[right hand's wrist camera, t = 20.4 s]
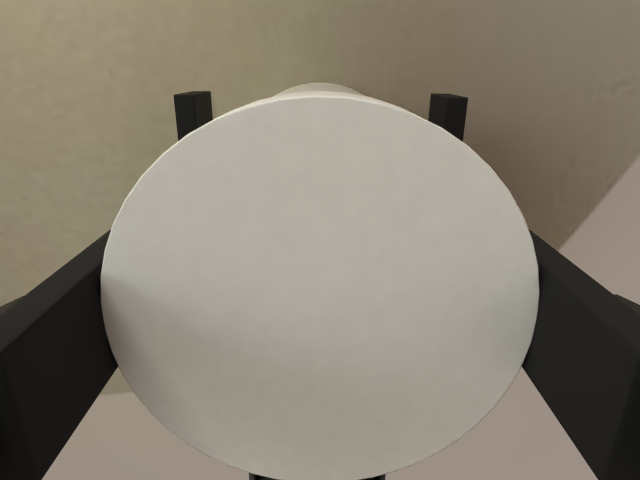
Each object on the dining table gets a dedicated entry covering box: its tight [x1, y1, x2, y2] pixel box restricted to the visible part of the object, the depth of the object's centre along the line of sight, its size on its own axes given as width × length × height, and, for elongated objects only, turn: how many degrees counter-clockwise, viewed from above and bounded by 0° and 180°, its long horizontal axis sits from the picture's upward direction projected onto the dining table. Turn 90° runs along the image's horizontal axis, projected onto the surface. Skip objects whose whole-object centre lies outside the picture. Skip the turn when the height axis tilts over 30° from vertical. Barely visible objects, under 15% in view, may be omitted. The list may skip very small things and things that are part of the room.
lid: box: [101, 91, 540, 480], centre depth 11 cm, size 10×10×2 cm
